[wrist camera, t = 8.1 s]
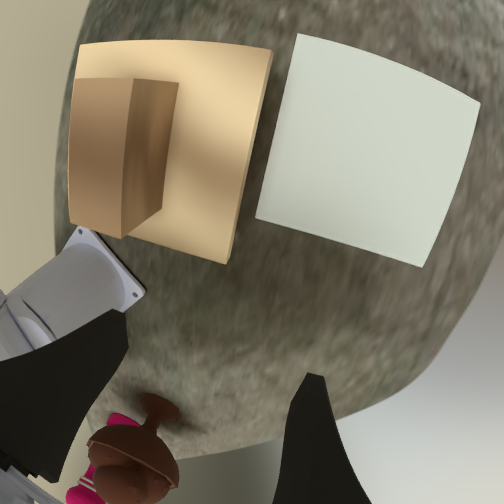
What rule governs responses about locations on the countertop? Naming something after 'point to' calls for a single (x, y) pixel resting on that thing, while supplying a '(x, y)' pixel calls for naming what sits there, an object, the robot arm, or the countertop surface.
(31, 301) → the robot arm
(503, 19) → the countertop surface
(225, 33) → the countertop surface
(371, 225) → the mat
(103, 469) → the ice cream bowl
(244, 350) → the countertop surface
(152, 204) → the lid
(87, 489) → the pepper mill
